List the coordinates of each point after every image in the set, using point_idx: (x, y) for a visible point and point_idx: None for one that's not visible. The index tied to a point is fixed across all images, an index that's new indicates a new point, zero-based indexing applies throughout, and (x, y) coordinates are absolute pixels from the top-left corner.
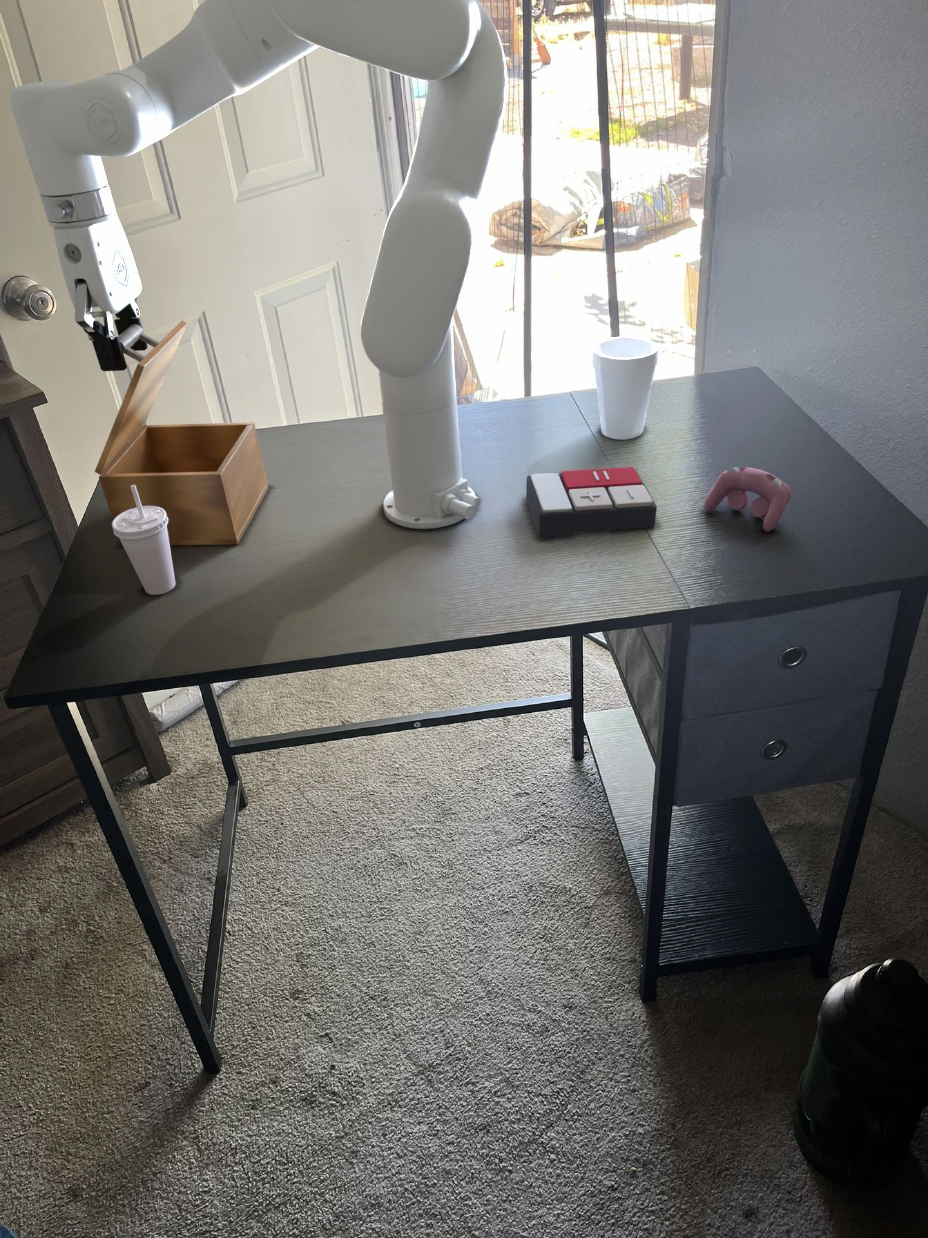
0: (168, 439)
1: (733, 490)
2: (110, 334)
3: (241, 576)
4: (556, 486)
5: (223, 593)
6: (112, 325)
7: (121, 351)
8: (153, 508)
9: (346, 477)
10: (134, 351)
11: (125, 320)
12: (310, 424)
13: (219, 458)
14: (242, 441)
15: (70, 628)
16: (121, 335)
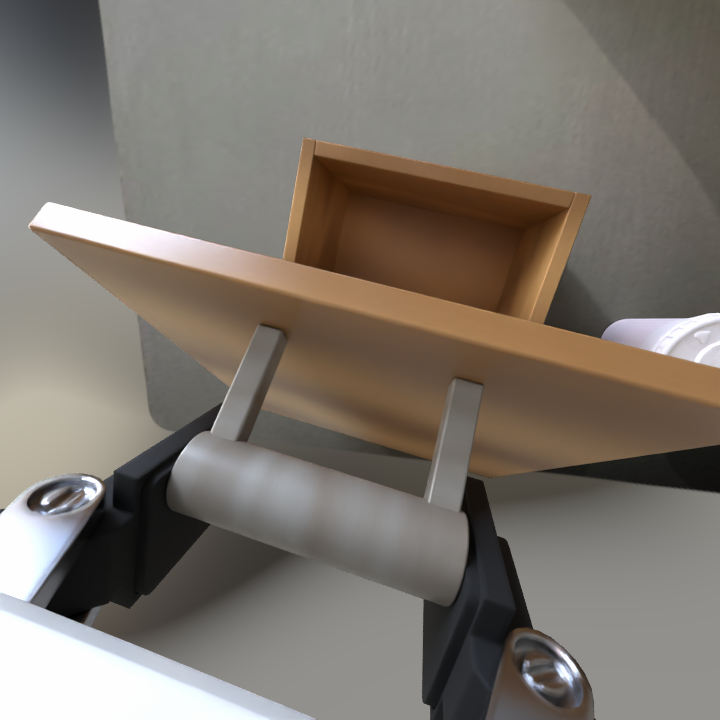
0: None
1: None
2: (561, 680)
3: (650, 208)
4: None
5: (697, 236)
6: (500, 709)
7: (486, 531)
8: (677, 346)
9: (338, 21)
10: (449, 459)
11: (138, 547)
12: (114, 118)
13: (320, 253)
14: (405, 158)
15: (693, 458)
16: (371, 560)
